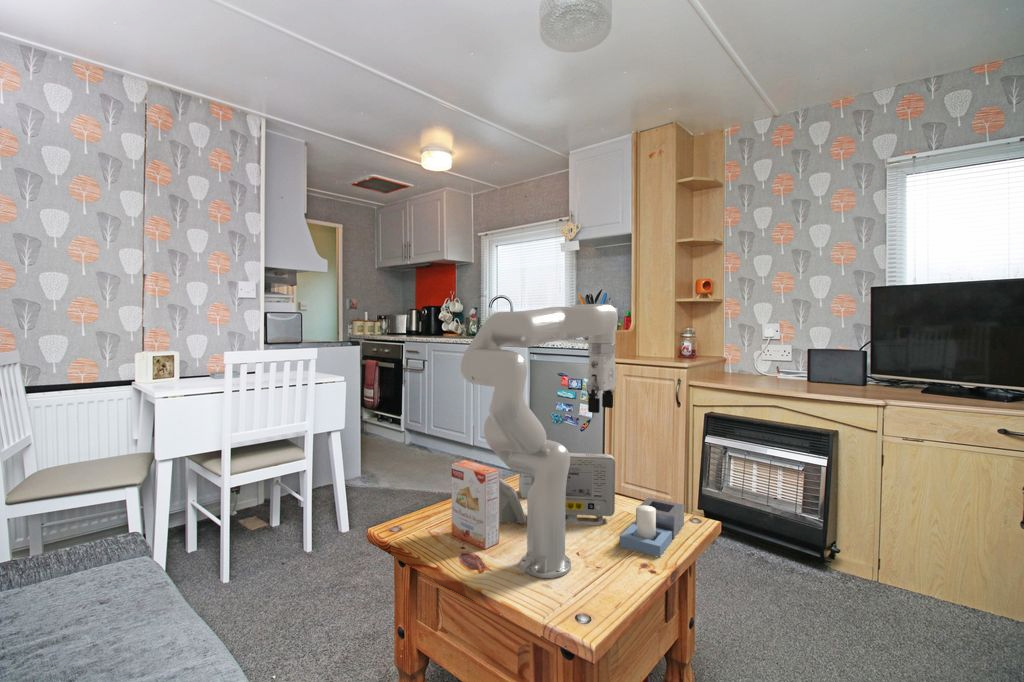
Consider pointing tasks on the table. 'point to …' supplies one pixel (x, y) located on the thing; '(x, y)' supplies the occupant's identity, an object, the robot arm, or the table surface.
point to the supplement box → (524, 484)
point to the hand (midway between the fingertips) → (600, 409)
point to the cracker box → (475, 503)
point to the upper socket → (667, 515)
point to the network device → (589, 487)
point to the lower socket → (646, 541)
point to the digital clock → (509, 504)
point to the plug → (646, 522)
